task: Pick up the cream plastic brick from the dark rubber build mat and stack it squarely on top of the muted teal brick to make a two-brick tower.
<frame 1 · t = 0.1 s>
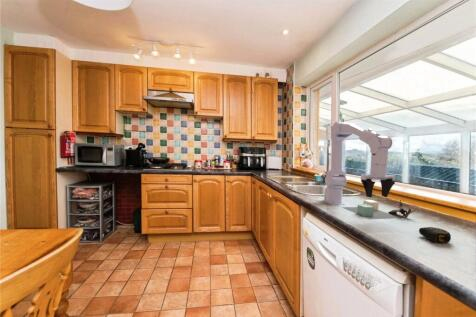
hand: (376, 196, 90), 10 cm above the countertop, fingers open, 7 cm apart
teal brick: (365, 214, 97), resting on build mat
eagle figurine: (399, 216, 98), on the countertop
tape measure: (434, 241, 71), on the countertop
build mat: (369, 213, 101), on the countertop
cream brick: (370, 209, 107), resting on build mat
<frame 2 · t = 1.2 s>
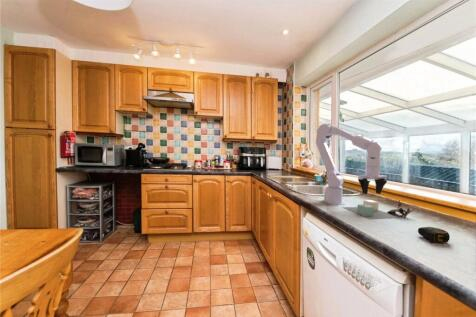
hand: (371, 193, 106), 8 cm above the countertop, fingers open, 7 cm apart
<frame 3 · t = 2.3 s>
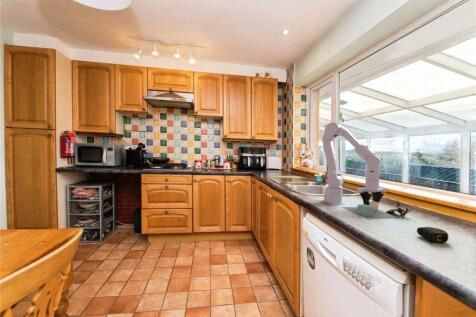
hand: (370, 206, 107), 2 cm above the countertop, fingers closed on cream brick, 4 cm apart
cream brick: (370, 209, 107), resting on build mat, touching gripper
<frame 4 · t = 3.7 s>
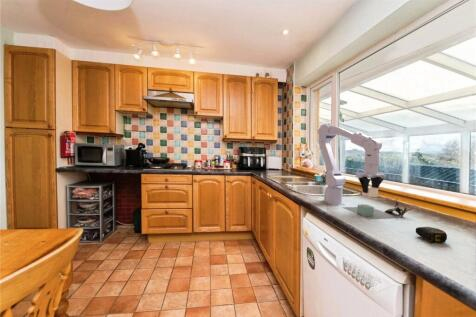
hand: (369, 192, 102), 9 cm above the countertop, fingers closed on cream brick, 4 cm apart
cream brick: (369, 195, 102), point 8 cm above the countertop, touching gripper
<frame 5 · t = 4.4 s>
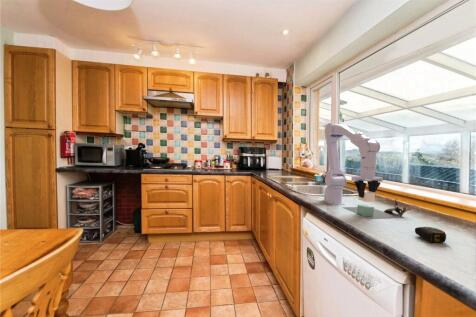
hand: (366, 197, 97), 8 cm above the countertop, fingers closed on cream brick, 4 cm apart
cream brick: (366, 200, 97), point 7 cm above the countertop, touching gripper
when the fingers open (7 cm above the countertop, at t = 5.1 s): cream brick stays where it is, resting on teal brick.
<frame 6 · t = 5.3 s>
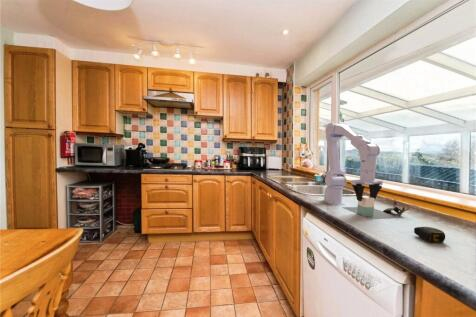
hand: (365, 200, 97), 7 cm above the countertop, fingers open, 6 cm apart
teal brick: (365, 214, 97), resting on build mat, touching cream brick
cream brick: (365, 205, 97), point 4 cm above the countertop, touching teal brick
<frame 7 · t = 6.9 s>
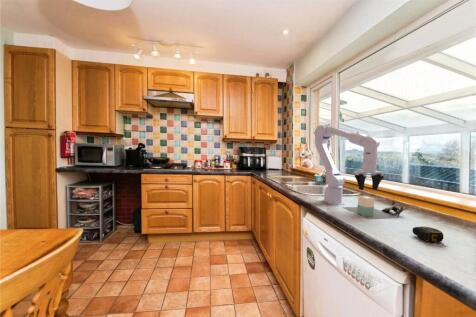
hand: (368, 189, 105), 10 cm above the countertop, fingers open, 7 cm apart
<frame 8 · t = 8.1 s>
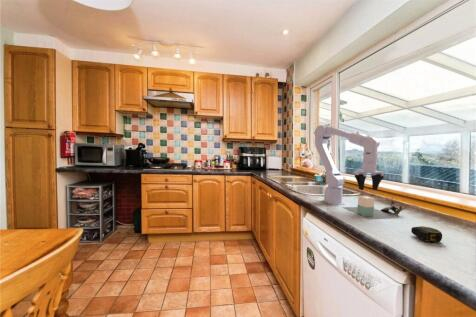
hand: (368, 189, 105), 10 cm above the countertop, fingers open, 7 cm apart
at the end: cream brick 0.1 cm off-centre on the teal brick, point 4.0 cm above the teal brick's base; cream brick tilted 0°; teal brick moved 0.0 cm from its start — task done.
